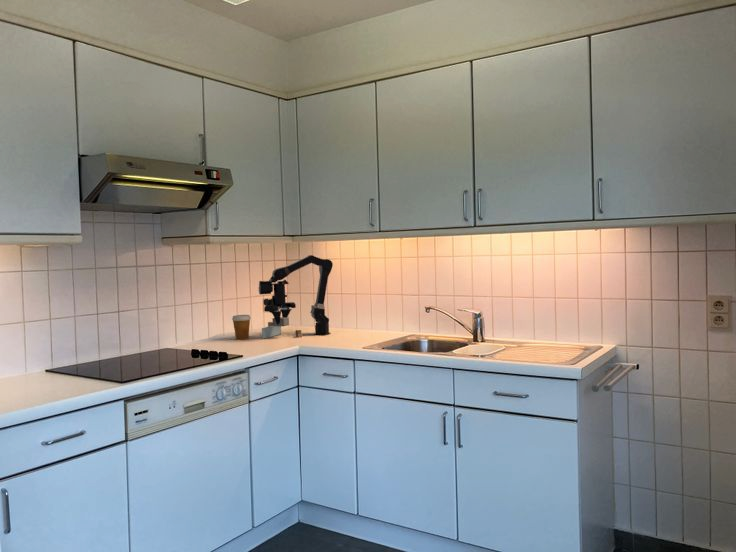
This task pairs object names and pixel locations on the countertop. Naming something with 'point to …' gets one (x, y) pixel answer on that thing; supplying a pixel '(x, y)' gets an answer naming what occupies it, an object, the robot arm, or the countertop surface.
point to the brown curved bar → (298, 332)
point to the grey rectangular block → (281, 321)
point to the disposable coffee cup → (241, 326)
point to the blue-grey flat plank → (271, 331)
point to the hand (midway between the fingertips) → (281, 323)
